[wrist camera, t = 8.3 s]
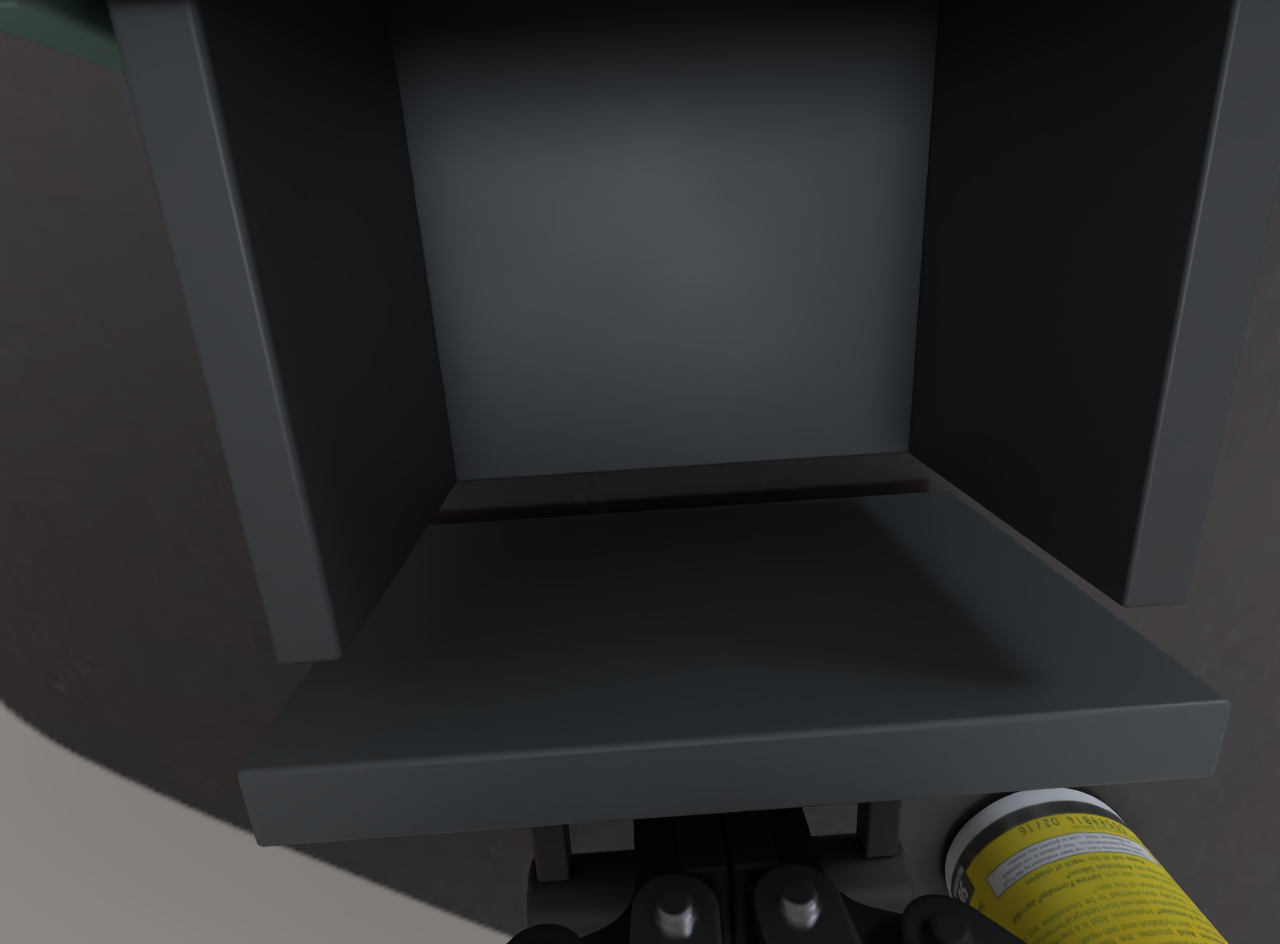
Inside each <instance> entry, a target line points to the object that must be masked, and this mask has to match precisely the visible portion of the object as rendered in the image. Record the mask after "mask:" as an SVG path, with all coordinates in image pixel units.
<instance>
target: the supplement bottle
mask: <svg viewBox="0 0 1280 944" xmlns="http://www.w3.org/2000/svg"><path fill="white" fill-rule="evenodd" d="M945 878H946V884H947V888H948V891H949V894H950V897H952V898H956V899H958V900H960V901H963V902H965V903H967V904H968V905H970V906H972V907H973V908H975V909H976V910H978V911H979V912H981V913H982V914H984V915H985V916H987V917H988V918H990V919H991V920H993V921H994V922H996V923H997V924H999V925H1000V926H1002V927H1003V928H1005V929H1006V930H1008V931H1009V932H1011V933H1012V934H1014V935H1015V936H1017V937H1018V938H1020V939H1021V940H1023V941H1024V942H1026V943H1027V944H1228V943H1227V942H1226V941H1225V940H1224V938H1223V937H1222V936H1221V935H1220V934H1219V933H1218V931H1217V930H1216V929H1215V928H1214V927H1213V925H1212V924H1211V923H1210V922H1209V921H1208V920H1207V918H1206V917H1205V916H1204V915H1203V914H1202V913H1201V911H1200V910H1199V909H1198V908H1197V907H1196V906H1195V904H1194V903H1193V902H1192V901H1191V900H1190V899H1189V897H1188V896H1187V895H1186V894H1185V893H1184V892H1183V890H1182V889H1181V888H1180V887H1179V886H1178V885H1177V883H1176V882H1175V881H1174V880H1173V879H1172V878H1171V876H1170V875H1169V874H1168V873H1167V872H1166V870H1165V869H1164V868H1163V867H1162V866H1161V865H1160V863H1159V862H1158V861H1157V860H1156V859H1155V858H1154V856H1153V855H1152V854H1151V853H1150V852H1149V851H1148V849H1147V848H1146V847H1145V846H1144V845H1143V844H1142V842H1141V841H1140V840H1139V839H1138V838H1137V837H1136V835H1135V834H1134V833H1133V832H1132V831H1131V830H1130V829H1129V828H1128V826H1127V825H1126V824H1125V823H1124V822H1123V821H1122V820H1121V819H1120V817H1119V816H1118V815H1117V814H1116V813H1115V812H1114V811H1113V810H1112V809H1111V808H1109V807H1108V806H1107V805H1106V804H1104V803H1103V802H1101V801H1100V800H1098V799H1096V798H1094V797H1092V796H1090V795H1088V794H1086V793H1083V792H1080V791H1076V790H1072V789H1067V788H1055V789H1041V790H1028V791H1021V792H1017V793H1014V794H1011V795H1009V796H1006V797H1004V798H1001V799H1000V800H998V801H996V802H994V803H992V804H990V805H989V806H987V807H986V808H984V809H983V810H982V811H980V812H979V813H977V814H976V815H975V816H974V817H973V818H971V819H970V820H969V821H968V822H967V823H966V824H965V825H964V826H963V827H962V829H961V830H960V831H959V832H958V834H957V835H956V837H955V838H954V840H953V842H952V844H951V846H950V848H949V851H948V854H947V858H946V863H945Z"/></svg>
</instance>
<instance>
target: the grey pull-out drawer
mask: <svg viewBox="0 0 1280 944" xmlns="http://www.w3.org/2000/svg"><path fill="white" fill-rule="evenodd" d="M106 2H107V6H108V10H109V14H110V18H111V21H112V25H113V29H114V33H115V37H116V41H117V45H118V49H119V52H120V56H121V60H122V64H123V68H124V72H125V76H126V80H127V83H128V87H129V91H130V95H131V99H132V103H133V107H134V111H135V115H136V118H137V122H138V126H139V130H140V134H141V138H142V142H143V146H144V149H145V153H146V157H147V161H148V165H149V169H150V173H151V177H152V180H153V184H154V188H155V192H156V196H157V200H158V204H159V208H160V211H161V215H162V219H163V223H164V227H165V231H166V235H167V239H168V242H169V246H170V250H171V254H172V258H173V262H174V266H175V270H176V273H177V277H178V281H179V285H180V289H181V293H182V297H183V301H184V305H185V308H186V312H187V316H188V320H189V324H190V328H191V332H192V336H193V339H194V343H195V347H196V351H197V355H198V359H199V363H200V367H201V370H202V374H203V378H204V382H205V386H206V390H207V394H208V398H209V401H210V405H211V409H212V413H213V417H214V421H215V425H216V429H217V432H218V436H219V440H220V444H221V448H222V452H223V456H224V460H225V463H226V467H227V471H228V475H229V479H230V483H231V487H232V491H233V495H234V498H235V502H236V506H237V510H238V514H239V518H240V522H241V526H242V529H243V533H244V537H245V541H246V545H247V549H248V553H249V557H250V560H251V564H252V568H253V572H254V576H255V580H256V584H257V588H258V591H259V595H260V599H261V603H262V607H263V611H264V615H265V619H266V622H267V626H268V630H269V634H270V638H271V642H272V646H273V650H274V653H275V657H276V661H277V662H278V663H279V664H282V665H287V664H301V663H315V664H314V665H313V666H312V668H311V669H310V671H309V672H308V673H307V675H306V676H305V678H304V679H303V681H302V682H301V683H300V685H299V686H298V688H297V689H296V690H295V692H294V693H293V695H292V696H291V698H290V699H289V700H288V702H287V703H286V705H285V706H284V707H283V709H282V710H281V712H280V713H279V715H278V716H277V717H276V719H275V720H274V722H273V723H272V724H271V726H270V727H269V729H268V730H267V732H266V733H265V734H264V736H263V737H262V739H261V740H260V741H259V743H258V744H257V746H256V747H255V749H254V750H253V751H252V753H251V754H250V756H249V757H248V758H247V760H246V761H245V763H244V764H243V766H242V767H241V768H240V770H239V773H238V780H239V784H240V787H241V791H242V794H243V797H244V801H245V804H246V807H247V811H248V814H249V818H250V821H251V824H252V828H253V831H254V834H255V838H256V841H257V844H258V845H260V846H263V847H265V846H280V845H293V844H307V843H321V842H334V841H348V840H361V839H375V838H389V837H402V836H416V835H429V834H443V833H457V832H470V831H484V830H497V829H511V828H525V827H531V835H532V842H533V849H534V857H535V858H534V859H533V860H532V863H531V866H530V870H529V877H528V889H527V919H528V928H529V927H532V926H535V925H539V924H558V925H562V926H565V927H567V928H569V929H570V930H572V931H573V932H574V933H576V934H577V935H578V936H579V938H581V937H583V936H586V935H588V934H590V933H593V932H595V931H598V930H600V929H602V928H604V927H606V926H608V925H609V924H611V923H612V922H614V921H615V920H616V919H617V918H619V917H620V916H621V915H622V914H623V912H624V911H625V910H626V909H627V907H628V905H629V904H630V902H631V900H632V897H633V895H634V891H635V884H636V874H635V849H634V850H621V851H607V852H594V853H580V854H572V853H571V844H570V835H569V826H568V824H579V823H593V822H606V821H620V820H633V819H647V818H661V817H674V816H688V815H701V814H715V813H729V812H742V811H756V810H769V809H783V808H797V807H810V806H824V805H837V804H851V803H858V811H857V830H856V833H850V834H836V835H823V836H812V839H813V842H814V845H815V848H816V851H817V854H818V857H819V860H820V863H821V866H822V868H823V871H824V873H825V874H826V876H827V877H828V878H829V879H830V880H831V881H832V882H833V883H834V885H835V886H836V887H837V889H838V890H839V891H840V892H842V893H843V894H845V895H846V896H847V897H849V898H851V899H853V900H854V901H856V902H859V903H861V904H864V905H867V906H870V907H874V908H879V909H883V910H887V911H892V912H896V913H901V914H902V913H903V911H904V909H905V908H906V906H907V905H908V904H909V903H910V902H911V901H912V900H914V893H913V882H912V876H911V872H910V867H909V864H908V860H907V857H906V854H905V852H904V849H903V847H902V845H901V843H900V841H899V839H898V833H899V820H900V808H901V800H905V799H919V798H933V797H946V796H960V795H973V794H987V793H1001V792H1014V791H1028V790H1041V789H1055V788H1069V787H1082V786H1096V785H1109V784H1123V783H1137V782H1150V781H1164V780H1178V779H1191V778H1205V777H1210V776H1212V775H1213V774H1214V773H1215V769H1216V765H1217V761H1218V757H1219V753H1220V749H1221V745H1222V741H1223V737H1224V733H1225V729H1226V725H1227V721H1228V717H1229V713H1230V709H1231V703H1230V701H1229V700H1228V699H1227V698H1226V697H1224V696H1223V695H1222V694H1220V693H1219V692H1218V691H1216V690H1215V689H1214V688H1212V687H1211V686H1209V685H1208V684H1207V683H1205V682H1204V681H1203V680H1201V679H1200V678H1199V677H1197V676H1196V675H1195V674H1193V673H1192V672H1191V671H1189V670H1188V669H1187V668H1185V667H1184V666H1183V665H1181V664H1180V663H1179V662H1177V661H1176V660H1175V659H1173V658H1172V657H1171V656H1169V655H1168V654H1167V653H1165V652H1164V651H1163V650H1161V649H1160V648H1159V647H1157V646H1156V645H1155V644H1153V643H1152V642H1151V641H1149V640H1148V639H1147V638H1145V637H1144V636H1143V635H1141V634H1140V633H1139V632H1137V631H1136V630H1135V629H1133V628H1132V627H1131V626H1129V625H1128V624H1127V623H1125V622H1124V621H1123V620H1121V619H1120V618H1118V617H1117V616H1116V615H1114V614H1113V613H1112V612H1110V611H1109V610H1108V609H1106V608H1105V607H1104V606H1102V605H1101V604H1100V603H1098V602H1097V601H1096V600H1094V599H1093V598H1092V597H1090V596H1089V595H1088V594H1086V593H1085V592H1084V591H1082V590H1081V589H1080V588H1078V587H1077V586H1076V585H1074V584H1073V583H1072V582H1070V581H1069V580H1068V579H1066V578H1065V577H1064V576H1062V575H1061V574H1060V573H1058V572H1057V571H1056V570H1054V569H1053V568H1052V567H1050V566H1049V565H1048V564H1046V563H1045V562H1044V561H1042V560H1041V559H1040V558H1038V557H1037V556H1036V555H1034V554H1033V553H1031V552H1030V551H1029V550H1027V549H1026V548H1025V547H1023V546H1022V545H1021V544H1019V543H1018V542H1017V541H1015V540H1014V539H1013V538H1011V537H1010V536H1009V535H1007V534H1006V533H1005V532H1003V531H1002V530H1001V529H999V528H998V527H997V526H995V525H994V524H993V523H991V522H990V521H989V520H987V519H986V518H985V517H983V516H982V515H981V514H979V513H978V512H977V511H975V510H974V509H973V508H971V507H970V506H969V505H967V504H966V503H965V502H963V501H962V500H961V499H959V498H958V497H957V496H955V495H954V494H953V493H951V492H949V491H939V492H924V493H909V494H894V495H879V496H864V497H849V498H834V499H819V500H804V501H788V502H773V503H758V504H743V505H728V506H713V507H698V508H683V509H668V510H653V511H638V512H622V513H607V514H592V515H577V516H562V517H547V518H532V519H517V520H502V521H487V522H472V523H457V524H441V525H429V524H430V522H431V520H432V519H433V517H434V516H435V514H436V513H437V511H438V510H439V508H440V507H441V505H442V504H443V502H444V500H445V499H446V497H447V496H448V494H449V493H450V491H451V490H452V488H453V487H454V485H455V483H456V482H463V481H478V480H494V479H509V478H524V477H540V476H555V475H570V474H586V473H601V472H616V471H632V470H647V469H662V468H678V467H693V466H708V465H723V464H739V463H754V462H769V461H785V460H800V459H815V458H831V457H846V456H861V455H877V454H892V453H907V452H910V454H911V455H913V456H914V457H915V458H917V459H918V460H920V461H921V462H922V463H924V464H925V465H926V466H928V467H929V468H931V469H932V470H933V471H935V472H936V473H938V474H939V475H940V476H942V477H943V478H945V479H946V480H947V481H949V482H950V483H951V484H953V485H954V486H956V487H957V488H958V489H960V490H961V491H963V492H964V493H965V494H967V495H968V496H970V497H971V498H972V499H974V500H975V501H976V502H978V503H979V504H981V505H982V506H983V507H985V508H986V509H988V510H989V511H990V512H992V513H993V514H995V515H996V516H997V517H999V518H1000V519H1001V520H1003V521H1004V522H1006V523H1007V524H1008V525H1010V526H1011V527H1013V528H1014V529H1015V530H1017V531H1018V532H1020V533H1021V534H1022V535H1024V536H1025V537H1026V538H1028V539H1029V540H1031V541H1032V542H1033V543H1035V544H1036V545H1038V546H1039V547H1040V548H1042V549H1043V550H1045V551H1046V552H1047V553H1049V554H1050V555H1051V556H1053V557H1054V558H1056V559H1057V560H1058V561H1060V562H1061V563H1063V564H1064V565H1065V566H1067V567H1068V568H1070V569H1071V570H1072V571H1074V572H1075V573H1077V574H1078V575H1079V576H1081V577H1082V578H1083V579H1085V580H1086V581H1088V582H1089V583H1090V584H1092V585H1093V586H1095V587H1096V588H1097V589H1099V590H1100V591H1102V592H1103V593H1104V594H1106V595H1107V596H1108V597H1110V598H1111V599H1113V600H1114V601H1115V602H1117V603H1118V604H1120V605H1121V606H1123V607H1142V606H1156V605H1171V604H1183V603H1185V602H1186V601H1187V598H1188V594H1189V589H1190V584H1191V580H1192V575H1193V570H1194V566H1195V561H1196V557H1197V552H1198V547H1199V543H1200V538H1201V533H1202V529H1203V524H1204V520H1205V515H1206V510H1207V506H1208V501H1209V496H1210V492H1211V487H1212V483H1213V478H1214V473H1215V469H1216V464H1217V459H1218V455H1219V450H1220V446H1221V441H1222V436H1223V432H1224V427H1225V422H1226V418H1227V413H1228V409H1229V404H1230V399H1231V395H1232V390H1233V385H1234V381H1235V376H1236V372H1237V367H1238V362H1239V358H1240V353H1241V348H1242V344H1243V339H1244V335H1245V330H1246V325H1247V321H1248V316H1249V311H1250V307H1251V302H1252V298H1253V293H1254V288H1255V284H1256V279H1257V274H1258V270H1259V265H1260V261H1261V256H1262V251H1263V247H1264V242H1265V237H1266V233H1267V228H1268V224H1269V219H1270V214H1271V210H1272V205H1273V200H1274V196H1275V191H1276V187H1277V182H1278V177H1279V173H1280V0H106Z"/></svg>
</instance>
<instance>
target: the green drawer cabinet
mask: <svg viewBox="0 0 1280 944" xmlns="http://www.w3.org/2000/svg"><path fill="white" fill-rule="evenodd" d="M0 31H3V32H6V33H9V34H12V35H14V36H17V37H20V38H23V39H26V40H29V41H32V42H35V43H38V44H41V45H44V46H47V47H50V48H53V49H55V50H58V51H61V52H64V53H67V54H70V55H73V56H76V57H79V58H82V59H85V60H88V61H91V62H94V63H96V64H99V65H102V66H105V67H108V68H111V69H114V70H117V71H120V72H123V73H125V72H124V68H123V64H122V60H121V56H120V52H119V49H118V45H117V41H116V37H115V33H114V29H113V25H112V21H111V18H110V14H109V10H108V6H107V2H106V0H0Z"/></svg>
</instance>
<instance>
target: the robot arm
mask: <svg viewBox="0 0 1280 944" xmlns="http://www.w3.org/2000/svg"><path fill="white" fill-rule="evenodd" d="M634 846H635V874H636V884H635V891H634V895H633V897H632V900H631V902H630V904H629V905H628V907H627V909H626V910H625V911H624V912H623V914H622V915H621V916H620V917H619V918H617V919H616V920H615V921H614V922H612V923H611V924H609V925H608V926H606V927H604V928H602V929H600V930H598V931H595V932H593V933H590V934H588V935H586V936H583V937H581V938H579V936H578V935H577V934H576V933H574V932H573V931H572V930H570V929H569V928H567V927H565V926H562V925H558V924H539V925H535V926H532V927H529V928H527V929H525V930H523V931H521V932H520V933H518V934H517V935H516V936H514V937H513V938H512V939H511V940H510V941H509V942H508V943H507V944H1027V943H1026V942H1024V941H1023V940H1021V939H1020V938H1018V937H1017V936H1015V935H1014V934H1012V933H1011V932H1009V931H1008V930H1006V929H1005V928H1003V927H1002V926H1000V925H999V924H997V923H996V922H994V921H993V920H991V919H990V918H988V917H987V916H985V915H984V914H982V913H981V912H979V911H978V910H976V909H975V908H973V907H972V906H970V905H968V904H967V903H965V902H963V901H960V900H958V899H956V898H952V897H949V896H944V895H924V896H921V897H918V898H916V899H914V900H912V901H911V902H910V903H909V904H908V905H907V906H906V908H905V909H904V911H903V913H902V914H901V913H896V912H892V911H887V910H883V909H879V908H874V907H870V906H867V905H864V904H861V903H859V902H856V901H854V900H853V899H851V898H849V897H847V896H846V895H845V894H843V893H842V892H840V891H839V890H838V889H837V887H836V886H835V885H834V883H833V882H832V881H831V880H830V879H829V878H828V877H827V876H826V874H825V873H824V871H823V868H822V866H821V863H820V860H819V857H818V854H817V851H816V848H815V845H814V842H813V839H812V836H811V833H810V830H809V827H808V824H807V821H806V818H805V815H804V812H803V809H802V807H797V808H783V809H769V810H756V811H742V812H729V813H715V814H701V815H688V816H674V817H661V818H647V819H634Z"/></svg>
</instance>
